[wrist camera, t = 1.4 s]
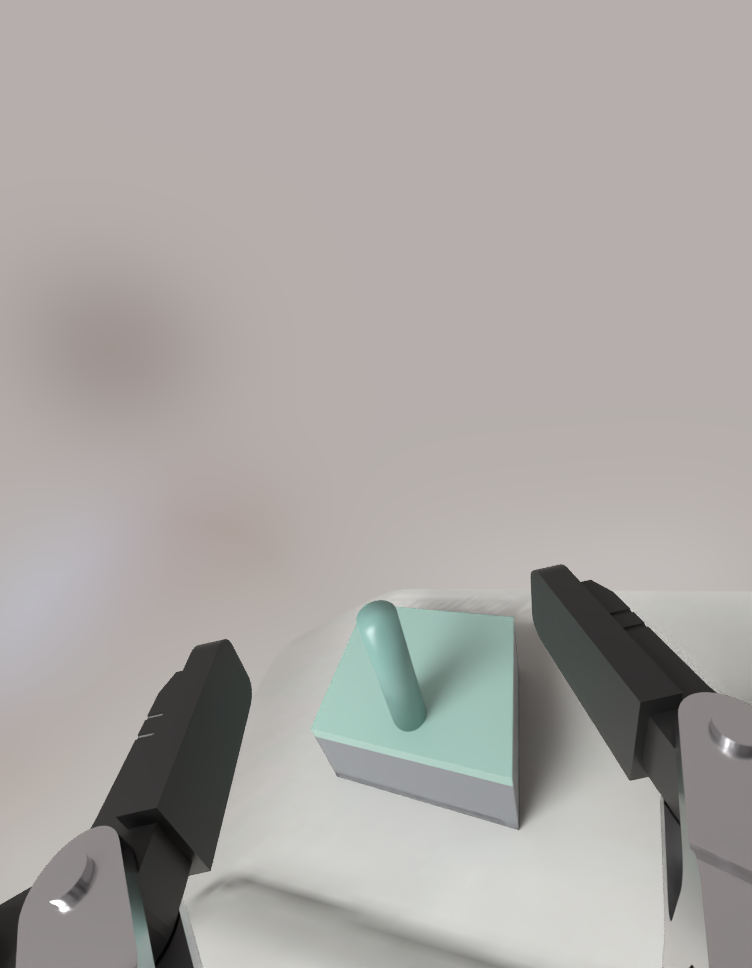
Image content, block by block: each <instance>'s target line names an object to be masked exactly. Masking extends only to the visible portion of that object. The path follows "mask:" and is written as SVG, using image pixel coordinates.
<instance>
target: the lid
mask: <svg viewBox="0 0 752 968" xmlns="http://www.w3.org/2000/svg"><path fill="white" fill-rule="evenodd" d="M311 730H312V732H313V734H314V736H315V737H319V738H323V739H327V740H331V741H335V742H339V743H343V744H347V745H351V746H355V747H359V748H362V749H366V750H370V751H374V752H378V753H382V754H386V755H390V756H394V757H398V758H402V759H406V760H410V761H414V762H418V763H422V764H425V765H429V766H433V767H437V768H441V769H445V770H449V771H453V772H457V773H461V774H465V775H469V776H473V777H477V778H481V779H485V780H488V781H492V782H496V783H500V784H504V785H508V786H512V787H513V734H514V617H509V616H497V615H485V614H474V613H462V612H450V611H439V610H427V609H415V608H404V607H395V606H394V605H393V604H392V603H390V602H388V601H383V600H379V601H374V602H371V603H369V604H365V605H364V607H363V608H362V609H361V610H360V612H359V613H358V616H357V624H356V626H355V628H354V630H353V633H352V635H351V637H350V640H349V642H348V644H347V647H346V649H345V651H344V653H343V656H342V658H341V660H340V663H339V665H338V667H337V670H336V672H335V674H334V676H333V679H332V681H331V683H330V686H329V688H328V690H327V693H326V695H325V697H324V699H323V702H322V704H321V706H320V709H319V711H318V713H317V716H316V718H315V720H314V723H313V725H312V727H311Z"/></svg>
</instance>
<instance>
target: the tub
mask: <svg viewBox="0 0 752 968" xmlns="http://www.w3.org/2000/svg"><path fill="white" fill-rule="evenodd" d="M315 738H316V739H317V741H318V743H319V745H320V746H321V748H322V750H323V752H324V754H325V755H326V757H327V759H328V761H329V762H330V764H331V766H332V768H333V770H334V771H335V773H336V775H337V776H338V777H341V778H345V779H348V780H351V781H355V782H358V783H362V784H365V785H368V786H372V787H375V788H379V789H382V790H385V791H389V792H392V793H395V794H399V795H402V796H406V797H409V798H412V799H416V800H419V801H423V802H426V803H429V804H433V805H436V806H440V807H443V808H446V809H450V810H453V811H457V812H460V813H463V814H467V815H470V816H473V817H477V818H480V819H484V820H487V821H490V822H494V823H497V824H501V825H504V826H507V827H511V828H514V829H518V830H519V705H518V659H517V648H516V638H515V627H514V734H513V787H512V786H508V785H504V784H500V783H496V782H492V781H488V780H485V779H481V778H477V777H473V776H469V775H465V774H461V773H457V772H453V771H449V770H445V769H441V768H437V767H433V766H429V765H425V764H422V763H418V762H414V761H410V760H406V759H402V758H398V757H394V756H390V755H386V754H382V753H378V752H374V751H370V750H366V749H362V748H359V747H355V746H351V745H347V744H343V743H339V742H335V741H331V740H327V739H323V738H319V737H315Z"/></svg>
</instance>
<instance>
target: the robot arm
mask: <svg viewBox="0 0 752 968" xmlns="http://www.w3.org/2000/svg"><path fill="white" fill-rule="evenodd" d="M531 596H532V616H533V621H534V624H535V627H536V630H537V633H538V635H539V637H540V639H541V640H542V642H543V644H544V645H545V647H546V648H547V650H548V652H549V653H550V655H551V656H552V658H553V660H554V661H555V663H556V664H557V666H558V667H559V669H560V671H561V672H562V674H563V675H564V677H565V679H566V680H567V682H568V683H569V685H570V687H571V688H572V690H573V691H574V693H575V694H576V696H577V698H578V699H579V701H580V702H581V704H582V706H583V707H584V709H585V710H586V712H587V714H588V715H589V717H590V718H591V720H592V721H593V723H594V725H595V726H596V728H597V729H598V731H599V733H600V734H601V736H602V737H603V739H604V741H605V742H606V744H607V745H608V747H609V748H610V750H611V752H612V753H613V755H614V756H615V758H616V760H617V761H618V763H619V764H620V766H621V768H622V769H623V771H624V772H625V774H626V775H627V777H628V779H629V780H630V781H631V780H635V779H640V778H644V777H649V778H650V779H651V781H652V782H653V784H654V785H655V787H656V788H657V790H658V791H659V792H660V794H661V799H660V809H661V837H662V865H663V893H664V946H663V964H662V968H752V706H751V705H749V704H747V703H745V702H743V701H741V700H738V699H736V698H733V697H730V696H727V695H723V694H718V693H716V692H715V691H714V690H712V689H711V688H710V687H709V686H708V685H707V684H706V683H705V682H704V681H703V680H702V679H701V678H700V677H699V676H698V675H697V674H696V673H695V672H694V671H693V670H692V669H691V668H690V667H689V666H688V665H687V664H686V663H685V662H684V661H682V660H681V659H680V658H679V657H678V656H677V655H676V654H675V653H674V652H673V651H672V650H671V649H670V648H669V647H668V646H667V645H666V644H665V643H664V642H663V641H662V640H661V639H660V638H659V637H658V636H657V635H656V634H655V633H654V632H653V631H652V630H651V629H650V628H649V627H646V626H645V624H644V622H643V621H642V620H641V619H640V618H639V617H638V616H637V615H636V614H635V613H634V612H631V611H630V608H629V607H628V606H627V605H626V604H625V603H624V602H623V601H622V600H621V599H620V598H619V597H618V596H617V595H616V594H615V593H614V592H612V591H610V590H608V589H607V588H605V587H603V586H601V585H599V584H598V583H596V582H594V581H592V580H588V581H584V582H580V581H579V580H578V579H577V578H576V577H575V576H574V575H573V574H572V572H571V571H570V570H569V569H568V568H567V567H566V566H564V565H561V564H560V565H556V566H552V567H547V568H542V569H538V570H534V571H532V572H531ZM251 699H252V689H251V683H250V679H249V677H248V675H247V673H246V671H245V669H244V667H243V665H242V663H241V661H240V659H239V657H238V655H237V654H236V651H235V649H234V647H233V645H232V644H231V642H230V641H229V640H227V639H224V640H220V641H216V642H211V643H207V644H202V645H198V646H196V647H195V648H194V649H193V650H192V652H191V654H190V656H189V658H188V660H187V663H186V665H185V667H184V670H183V671H179V672H176V673H175V674H174V676H173V677H172V678H171V679H170V680H169V682H168V683H167V684H166V685H165V686H164V687H163V689H162V690H161V691H160V692H159V694H158V696H157V698H156V700H155V702H154V704H153V706H152V708H151V710H150V712H149V714H148V719H147V720H145V722H144V724H143V726H142V728H141V730H140V732H139V734H138V739H137V740H135V742H134V744H133V746H132V748H131V750H130V752H129V754H128V756H127V758H126V760H125V762H124V764H123V766H122V768H121V770H120V772H119V774H118V776H117V778H116V780H115V782H114V784H113V786H112V788H111V790H110V792H109V794H108V796H107V798H106V800H105V802H104V804H103V806H102V808H101V810H100V812H99V814H98V816H97V818H96V820H95V822H94V824H93V825H92V827H91V829H89V830H87V831H85V832H83V833H82V834H80V835H78V836H77V837H76V838H74V839H73V840H71V841H70V842H69V843H68V844H67V845H66V846H65V847H63V848H62V849H61V850H60V851H59V852H58V853H57V854H56V855H55V856H54V857H53V858H52V860H51V861H50V862H49V863H48V865H46V867H45V868H44V870H43V871H42V872H41V874H40V875H39V876H38V878H37V880H36V881H35V883H34V884H33V886H32V887H30V888H28V889H27V890H25V891H23V892H22V893H20V894H18V895H16V896H15V897H13V898H11V899H10V900H8V901H6V902H4V903H3V904H1V905H0V968H203V966H202V962H201V959H200V955H199V951H198V947H197V944H196V940H195V936H194V933H193V929H192V925H191V922H190V918H189V914H188V910H187V907H186V904H185V902H184V900H183V899H182V897H183V894H184V890H185V887H186V883H187V879H188V876H190V875H194V874H199V873H203V872H208V871H211V867H212V863H213V859H214V855H215V850H216V846H217V842H218V838H219V834H220V830H221V826H222V821H223V817H224V813H225V809H226V805H227V801H228V797H229V792H230V788H231V784H232V780H233V776H234V772H235V768H236V763H237V759H238V755H239V751H240V747H241V743H242V739H243V734H244V730H245V726H246V722H247V718H248V714H249V709H250V705H251Z"/></svg>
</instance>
